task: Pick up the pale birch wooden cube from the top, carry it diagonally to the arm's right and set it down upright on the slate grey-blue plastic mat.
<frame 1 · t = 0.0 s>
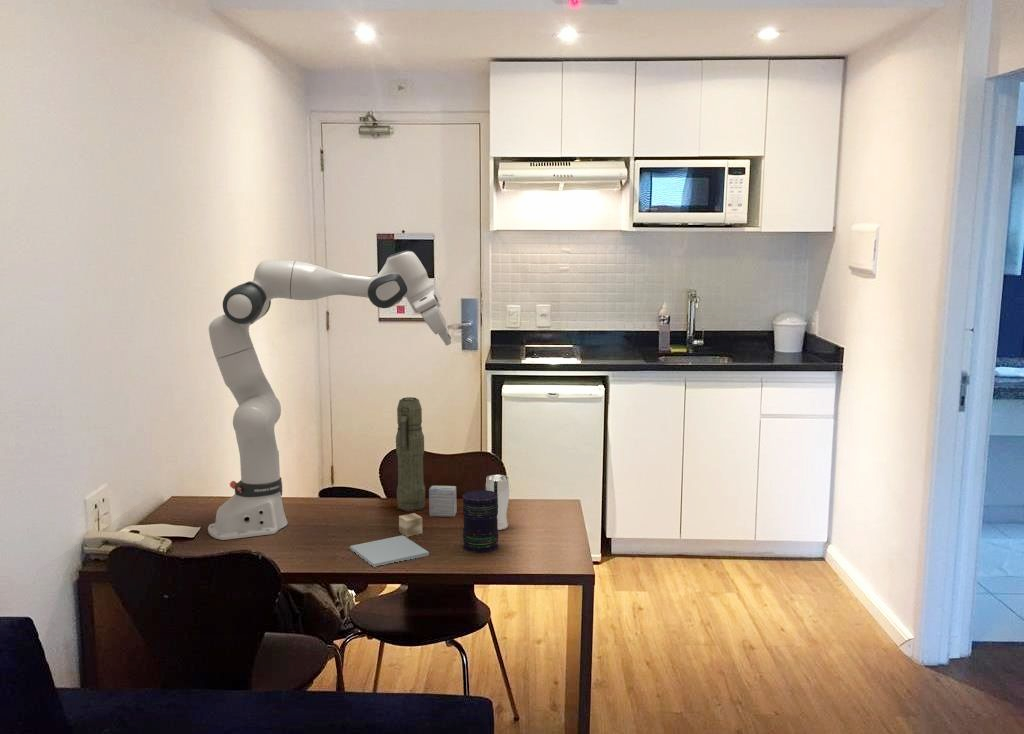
hand: (449, 342, 258), 54 cm above the table, tool tilted 30°, fingers open, 8 cm apart
storage jar: (480, 547, 244), on the table
beer glass: (497, 527, 261), on the table
birch cube: (410, 533, 256), on the table
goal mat: (389, 552, 240), on the table
thermos: (411, 507, 280), on the table
medicine box: (443, 515, 273), on the table
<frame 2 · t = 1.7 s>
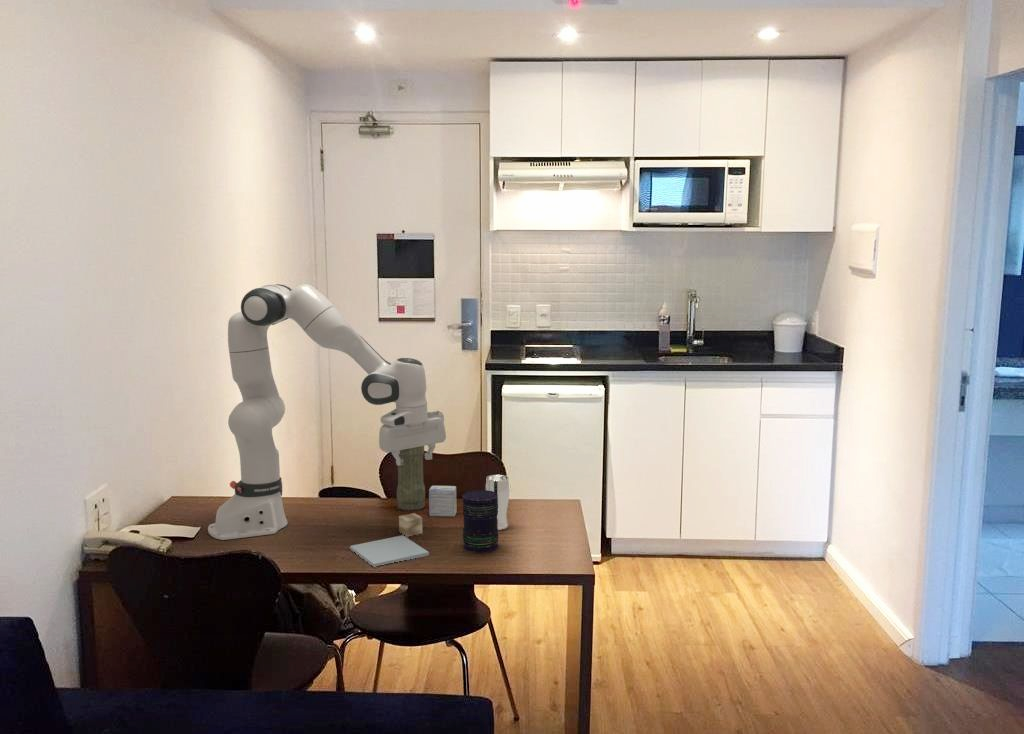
hand: (414, 462, 253), 21 cm above the table, tool pointing down, fingers open, 8 cm apart
nothing on the table moved.
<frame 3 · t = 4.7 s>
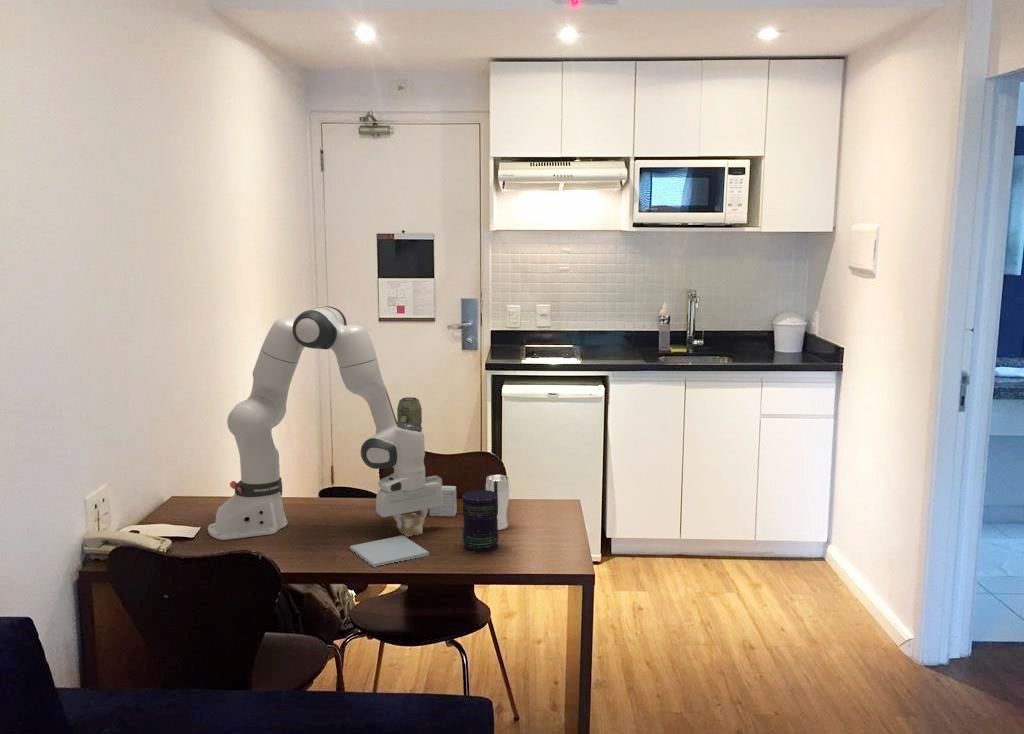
hand: (410, 526, 255), 2 cm above the table, tool pointing down, fingers closed on birch cube, 5 cm apart
birch cube: (410, 533, 256), on the table, touching gripper
everything else where it was.
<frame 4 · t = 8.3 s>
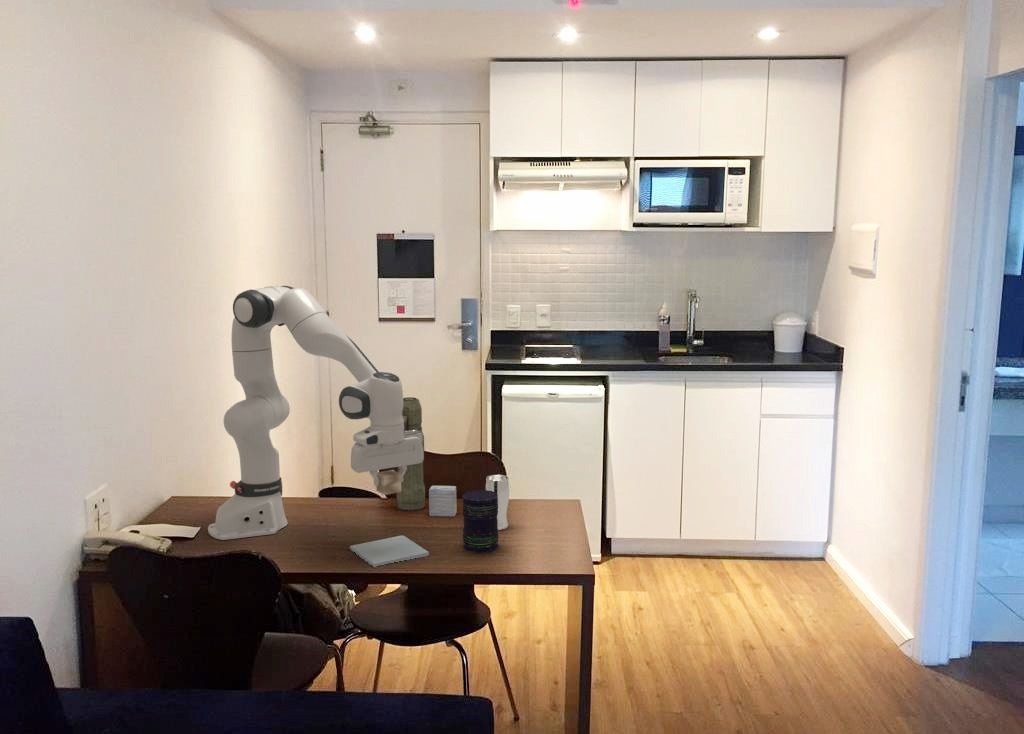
hand: (388, 483, 238), 19 cm above the table, tool pointing down, fingers closed on birch cube, 5 cm apart
birch cube: (389, 491, 238), point 17 cm above the table, touching gripper
everything else where it was.
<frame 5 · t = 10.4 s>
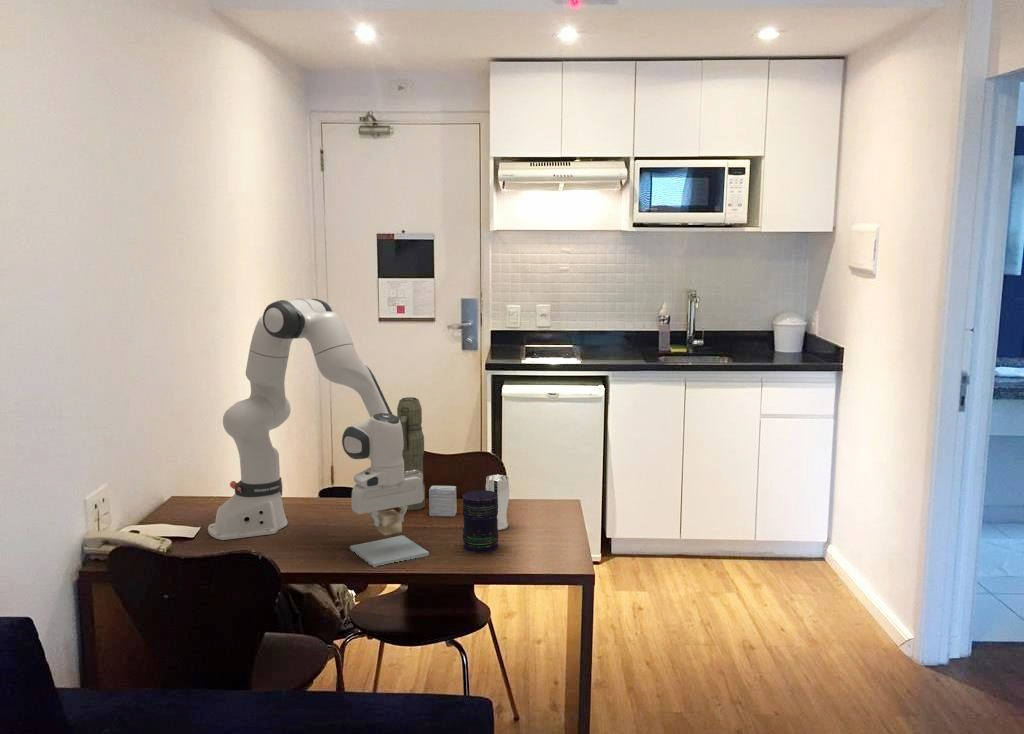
hand: (389, 523, 239), 8 cm above the table, tool pointing down, fingers closed on birch cube, 5 cm apart
birch cube: (389, 531, 239), point 6 cm above the table, touching gripper
everything else where it was.
when the fingers open (5 cm above the table, at t = 12.0 s): birch cube drops 1 cm, resting on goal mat.
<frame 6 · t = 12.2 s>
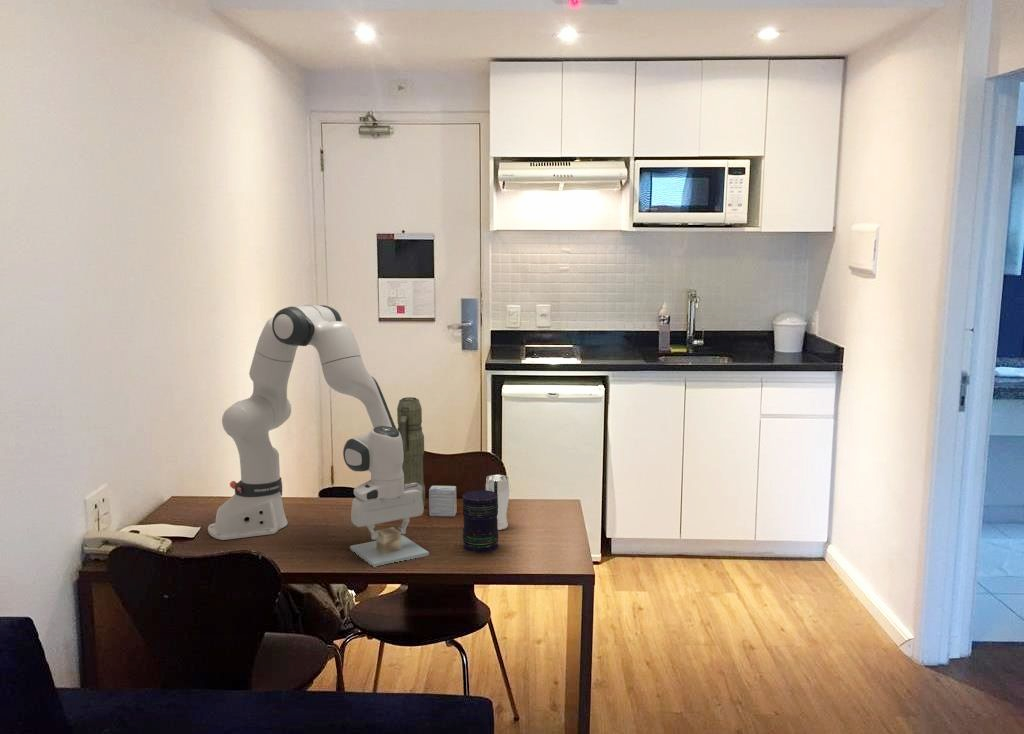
hand: (388, 536, 240), 5 cm above the table, tool pointing down, fingers open, 7 cm apart
birch cube: (388, 548, 240), point 1 cm above the table, touching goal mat
everything else where it was.
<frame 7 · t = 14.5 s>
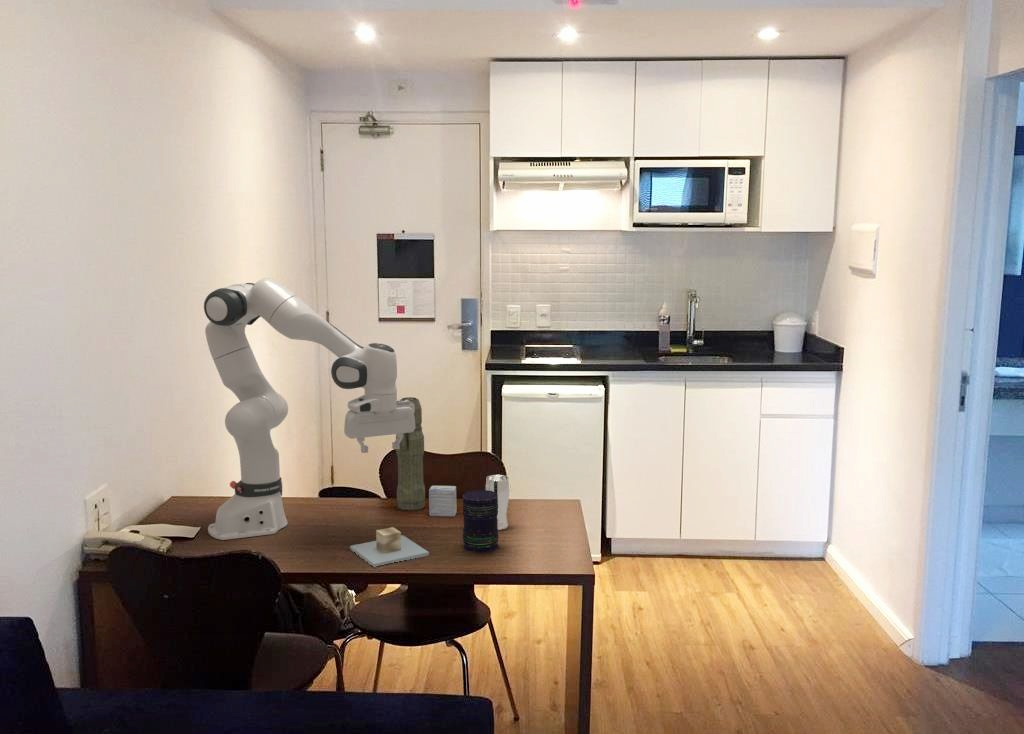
hand: (380, 450, 247), 26 cm above the table, tool pointing down, fingers open, 8 cm apart
nothing on the table moved.
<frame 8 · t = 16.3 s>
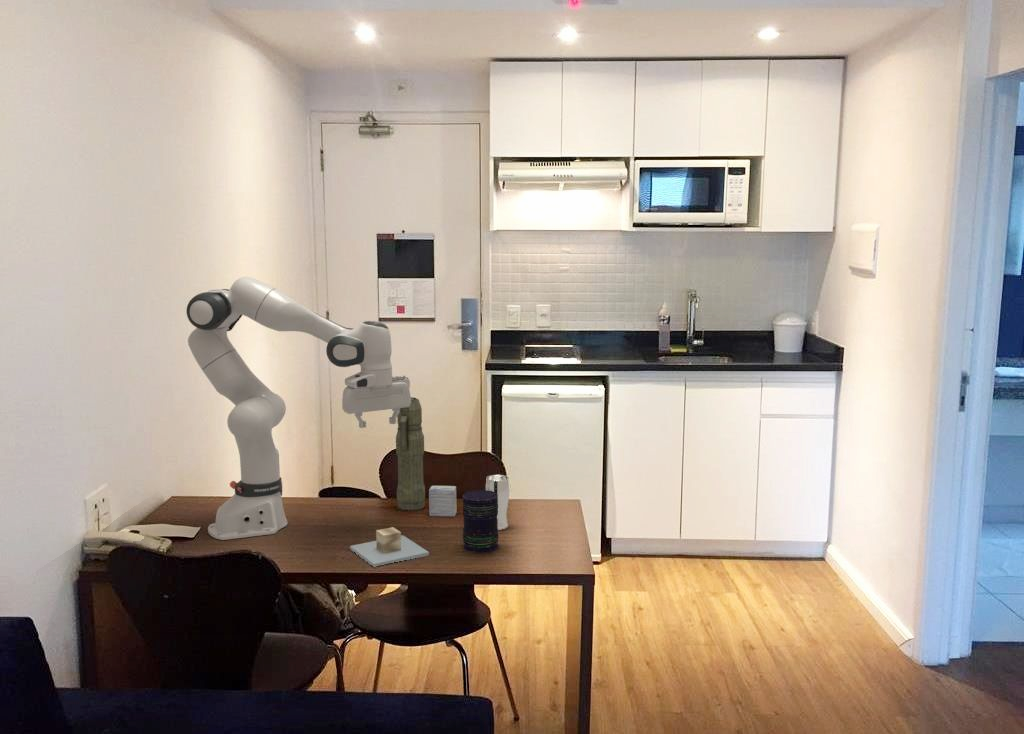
hand: (377, 425, 255), 31 cm above the table, tool pointing down, fingers open, 8 cm apart
nothing on the table moved.
at the end: birch cube inside the target area on the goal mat (0.0 cm from its centre), point 1.0 cm above the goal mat's base; birch cube tilted 0°; the gripper is holding nothing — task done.
